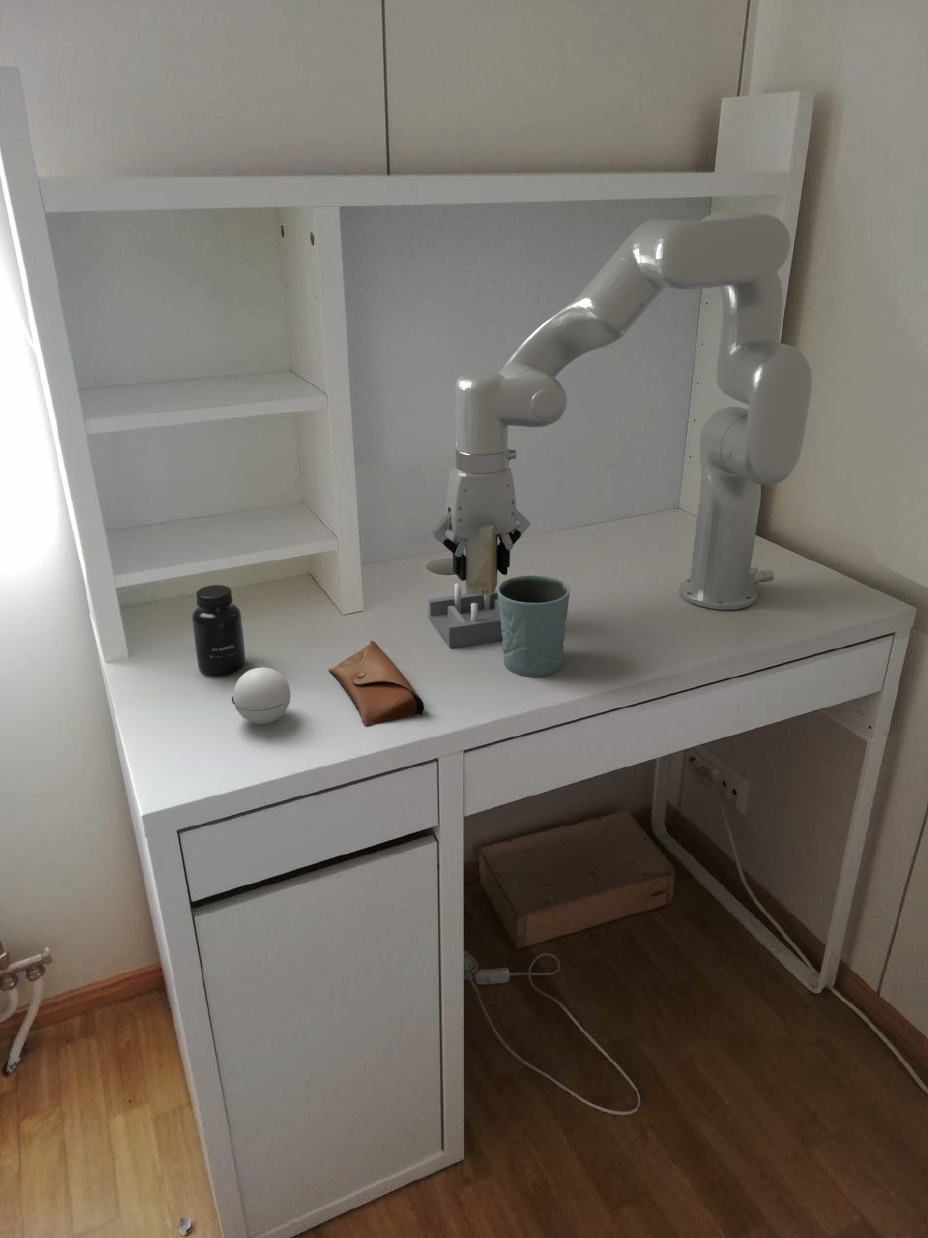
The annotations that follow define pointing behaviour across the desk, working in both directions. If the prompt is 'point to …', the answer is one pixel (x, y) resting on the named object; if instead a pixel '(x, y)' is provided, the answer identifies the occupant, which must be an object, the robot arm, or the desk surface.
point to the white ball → (261, 695)
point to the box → (482, 562)
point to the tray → (466, 618)
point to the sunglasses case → (377, 687)
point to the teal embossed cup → (533, 624)
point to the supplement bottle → (218, 632)
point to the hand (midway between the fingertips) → (481, 573)
